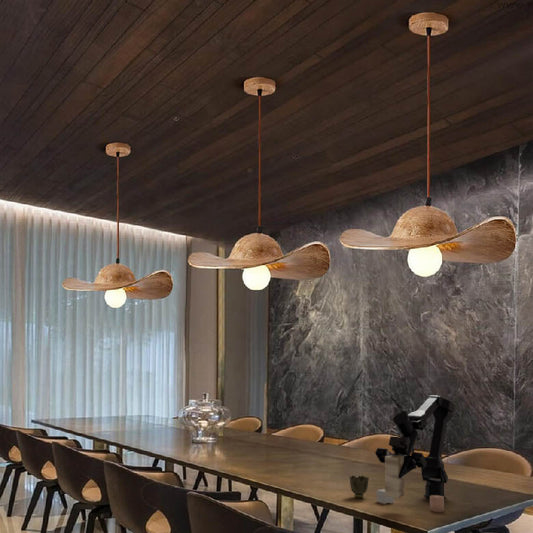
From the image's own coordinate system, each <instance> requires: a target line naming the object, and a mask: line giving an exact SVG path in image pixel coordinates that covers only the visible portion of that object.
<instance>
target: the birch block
mask: <svg viewBox="0 0 533 533" xmlns="http://www.w3.org/2000/svg"><path fill="white" fill-rule="evenodd" d="M403 464H404V456H397V455H389V456H385V463H384V489H385V496H388V497H394V499H399V498H401V497H404V496H405V475H404V476H403V477H401V478H399V473H400V471H401V468H402V466H403Z"/></svg>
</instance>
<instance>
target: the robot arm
mask: <svg viewBox="0 0 533 533" xmlns="http://www.w3.org/2000/svg"><path fill="white" fill-rule="evenodd" d="M455 406H456V405H455V404H454V403H453V401H452V400H449V399H447V398H443V397H442V396H441V395H428V396H427V399H426V400H425V401H424V403H423V404H422V405H420V407H419V408H418V409H417V410H416V411H412V412H410V413H408V412H407V411H405V410H401V412H398V413H397V414H396V415H395V416H393V418H392V421H393V424H394V425H395V427H396V429H397V431H398V433H399V434H401V436H392V435H391V436H389V437H390V438H389V440H388V446H390V447H391V451H392V452H391V451H389V449H388V448H382V447H377V449H376V450H375V452H374V454H375V455H376V457H377V460H379V462H380V463H381V464H385V456H389V455H397V456H404V464H403V466H402V468H401V471H400V473H399V478H401V477H403V476H404V477H405V476H406V475H407V474H408V473H410V472H411V471H412V470H415V469H417V468H419V469H420V470H421V471H420V472H421V477H422V481H423V482H424V481H425V482H426V484H425V485H424V486H425V492H424V493H425V494H423V496H424V497H426V498H429V499H430V496H431V495H440V496H443V497H444V499H447V497H446V495H445V484H447V483H448V480H449V479H448V478H449V476H448V474H447V472H446V470H445V464H444V463H445V462H444V461H443V458H442V456H443V450H444V444H445V439H446V433H447V432H446V431H447V428H448V427H447V425H448V422H450V420H452V418H453V415H454V412H455V409H456V407H455ZM432 415H433V418H434V424H433V430H432V436H431V442H430V448H429V452H428V453H429V454H428V455H427V456H424V454H423V452H417V451H415V448H414V447H415V445H416V442H417V441H418V442H420V441H421V439H420V436H419V432H418V431H424V430H425V429H426V427H427V425H428V419H429V417H430V416H432Z"/></svg>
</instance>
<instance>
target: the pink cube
mask: <svg viewBox="0 0 533 533" xmlns="http://www.w3.org/2000/svg"><path fill="white" fill-rule="evenodd" d="M429 511H430V512H435V513H443V512H445V498H444V497H443V496H440V495H431V496H430V498H429Z"/></svg>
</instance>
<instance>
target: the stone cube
mask: <svg viewBox="0 0 533 533" xmlns="http://www.w3.org/2000/svg"><path fill="white" fill-rule="evenodd" d="M394 499H395V498H394V497H388V496H385V488H383V489H376V503H379V502H380V504H382V503H383V504H382V505H387V504H386V503H390V504H394V501H395V500H394Z"/></svg>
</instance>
